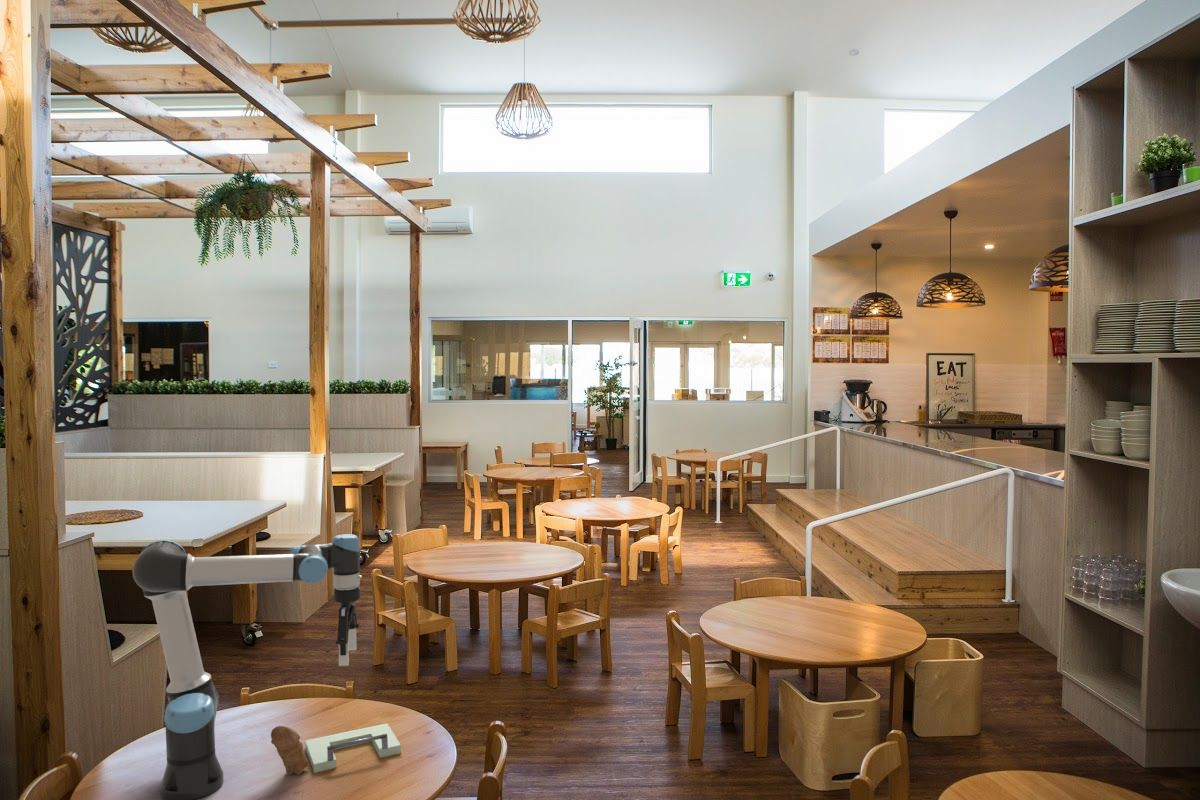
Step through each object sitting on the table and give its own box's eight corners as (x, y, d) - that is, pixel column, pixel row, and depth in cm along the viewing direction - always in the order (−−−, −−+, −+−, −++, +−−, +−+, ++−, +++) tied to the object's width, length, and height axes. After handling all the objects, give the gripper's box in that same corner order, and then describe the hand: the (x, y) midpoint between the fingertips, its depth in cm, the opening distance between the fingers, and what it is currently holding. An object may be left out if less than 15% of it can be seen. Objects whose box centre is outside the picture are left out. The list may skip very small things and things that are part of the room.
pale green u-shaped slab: (314, 772, 231) (313, 764, 231) (305, 748, 246) (305, 740, 246) (401, 753, 242) (400, 744, 242) (387, 730, 257) (387, 723, 257)
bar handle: (328, 761, 232) (327, 747, 232) (327, 759, 234) (327, 745, 233) (387, 748, 240) (387, 734, 240) (386, 746, 241) (386, 732, 241)
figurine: (311, 767, 234) (309, 714, 233) (297, 782, 226) (296, 727, 225) (282, 766, 235) (280, 714, 234) (268, 781, 227) (266, 726, 226)
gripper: (352, 597, 238) (353, 671, 239) (366, 576, 263) (367, 643, 263) (325, 598, 237) (326, 672, 238) (341, 577, 262) (342, 644, 262)
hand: (347, 657), depth 251 cm, fingers open, 13 cm apart
